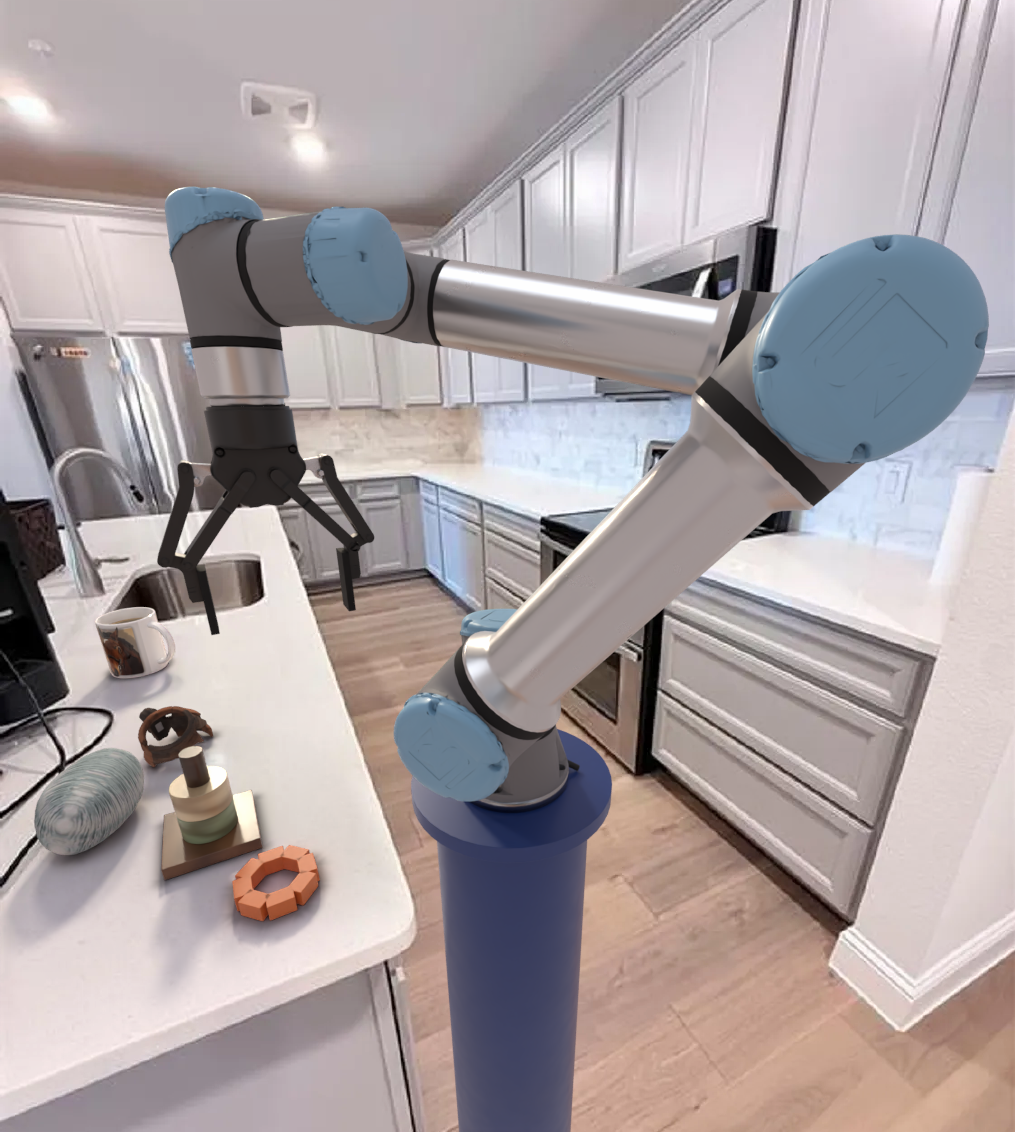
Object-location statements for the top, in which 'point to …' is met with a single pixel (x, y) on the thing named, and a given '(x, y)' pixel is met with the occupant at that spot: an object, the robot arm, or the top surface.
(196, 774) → the stacking post
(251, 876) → the terracotta ring
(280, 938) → the top surface
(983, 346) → the robot arm
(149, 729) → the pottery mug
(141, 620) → the mug
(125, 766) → the streaked grey ellipsoid
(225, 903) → the top surface
